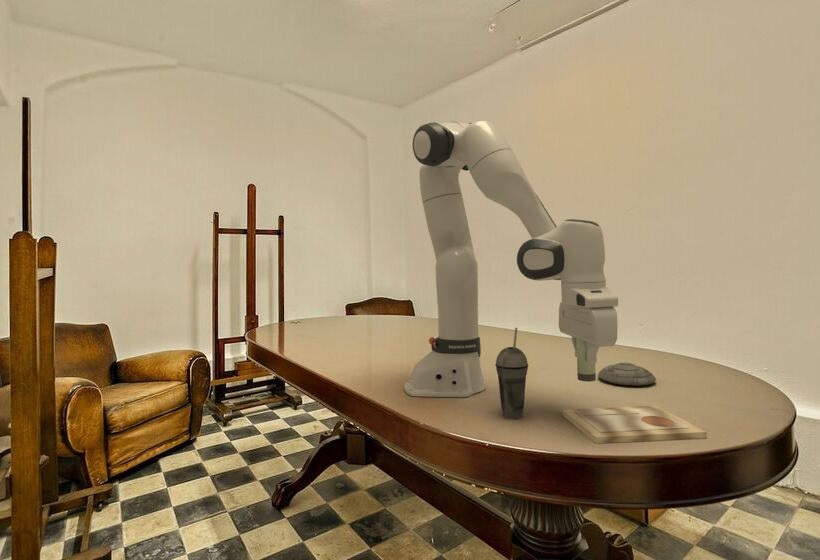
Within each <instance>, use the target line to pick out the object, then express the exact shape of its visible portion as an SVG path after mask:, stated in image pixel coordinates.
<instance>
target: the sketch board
mask: <svg viewBox="0 0 820 560" xmlns="http://www.w3.org/2000/svg"><path fill="white" fill-rule="evenodd" d="M561 416H562V417H564V418H565V419H566V420H567V421H568V422H569V423H571V424H572V425H573V426H574V427H575V428H577V429H578V430H579V431H580V432H581V433H583V435H584V436H586V437H587V438H588V439H589V440H591V441H592V442H593V443H595V444H613V443H616V444H617V443H632V442H633V443H634V442H653V441H656V442H657V441H674V440H692V439H693V440H694V439H695V440H696V439H708V432H707V431H706V430H704V429H702V428H700V427H698V426H696V425H694V424H692V423H690V422H689V421H687V420H684V419H682V418H681V417H679V416H677V415H675V414H674V413H671V412H669V411H668V410H666V409H664V408H662V407H659V406H658V405H637V406H618V407H617V406H616V407H595V408H592V407H591V408H574V409H573V408H572V409H570V408H569V409H561Z"/></svg>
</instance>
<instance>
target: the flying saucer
mask: <svg viewBox="0 0 820 560" xmlns="http://www.w3.org/2000/svg"><path fill="white" fill-rule="evenodd" d="M597 377H598V378H599V379H601V380H603V381H605V382H607V383H611V384H615V385H622V386H646V385H651V384H653V383H655V382H656V381H657V378H656V377H655V375H654V374H653V373H652V372H651V371H649V370H648V369H646V368H645V367H642V366H640V365H639V366H638V365H637V364H634V363H632V362H631V363H630V362H618V363H615V364H610V365H607V366H605V367H603V368H602V369H600V371H598V373H597Z"/></svg>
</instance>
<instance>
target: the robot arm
mask: <svg viewBox="0 0 820 560" xmlns="http://www.w3.org/2000/svg"><path fill="white" fill-rule="evenodd" d="M412 151H413V156H414V158H415V159H416V160H417V161H418V162H419V164H422V165H421V167H420V169H419V190H420V196H421V201H422V206H423V210H424V211H423V213H424V215H425V220H426V225H427V229H428V234H429V236H430V240H431V245H432V248H433V252H434V255H435V260H436V262H435V282H436V283H435V285H436V287H435V288H436V301H437V317H438V318H437V323H438V327H437V328H438V329H437V330H438V336H437V337H436V338H435V337H434V336H431V337H429V338H428V343H429V345H430V346H431V351H430V352H428V354H426V355H425V356H424V357H423V358H421V359H420V360H419V361H417V362H416V363H415V364H414V367H413V370H412V374H411V379H408V380H406V381H405V382H404V386H403V387H404V391H405V393H406V394H407V395H408V396H412V397H429V398H431V397H434V398H435V397H437V398H438V397H439V398H442V397H445V398H469V397H471V396H472V395H474V394H478V393H479V392H480V393H481V392H483V391H484V390H485V389H486V384H485V381H484V378H483V374H482V373H483V371H482V367H481V366H482V365H481V359H480V358H481V354H482V346H481V345H482V344H481V337H480V336H479V300H478V299H479V297H478V296H479V295H478V294H479V283H478V282H479V280H478V277H479V275H478V274H479V273H478V272H479V270H478V262H477V260H476V254H475V252H474V247H473V241H472V236H471V231H470V227H469V222H468V216H467V212H466V209H465V203H464V198H463V194H462V190H461V189H462V188H461V185H460V180H459V176H460V175H459V174H460V172H461V171H462V170H463V171H466V172H468V171H469V173H470V175H471V178H472V179H473V182H474V183H475V185H476V186H477V188H478V189H479V191H480V192H481V193H482V194H483V195H484V196H485V197H486V198H487V199H488V200H490V201H491V202H492V201H493V202H495V203H497V204H498V205H501V206H503V207H505V208H506V209H507V210H509V211H511V212H513V214H514V215H516V216H517V217H518V218H519V220H520V221H521V223H522V224H523V226H524V227H525V229H526V231H527V232H528V234H529V236H530V239H529V240H526V241H525V242H524V243H522V244H521V246H520V247H519V248H518V251H517V254H516V265H517V269H518V270H519V271H520V273H521V274H522V275H523V276H524V277H525V278H527V279H529V280H533V281H537V282H542V281H551V280H552V281H553V280H554V281H560V283H561V284H560V287H561V288H560V289H561V293H560V294H561V302H560V303H559V306H558V307H559V308H558V329H559V331H560V333H561V334H564V335H567V336H570V337H571V344H572V346H573V349H574V356H575V358H577V346H576V338H578V339H580V340H583V341H585V342H586V346H587V347H588V349H587V354H585V361H586V362H588V363H590V364H592V363H595V364H596V363H597V358H598V357H597V356H598V352H599V349H600V348H601V347H603V348H604V347H614V346H616V345H615V344H616V342H617V340H618V313H617V312H618V311H617V310H616V307H618V306H619V297H618V296H617V295H616V293H614V292H612V290H610V289H609V287H608V286H607V283H606V281H607V278H606V276H605V272H604V266H605V261H606V252H605V251H606V250H605V249H606V248H605V241H604V240H605V239H604V234H603V230H602V227H601V226H600V225H599V224H598V223H597V222H595V221H593V220H584V219H577V218H576V219H575V218H570V219H565V220H563V221H562V222H561V223H560V224H559V225H558V226H557V224H556V223H555V221H554V220H553V219H552V217H551V215H550V214H549V212H548V211H547V208H546V207H545V206H544V204H543V202H542V201H541V200H540V198H539V196H538V194H537V193H536V192H535V190H534V188H533V186H532V185H531V183H530V181H529V179H528V177H527V176H526V174H525V172H524V170H523V168H522V166H521V164H520V162H519V159H518V158H517V156H516V154H515V152H514V150H513V149H512V148H511V145H510V144H509V142H508V141H507V139H506V138H505V136H503V134H502V133H501V131H500V129H498V128H497V127H496V125H495V124H494V123H493V122H491V121H489V120H483V119H482V120H476V121H474V122H462V121H446V122H445V121H444V122H428V123H425V124H423V125H421V126H419V127H418V128H417V129H416V131H415V132H414V135H413V139H412Z"/></svg>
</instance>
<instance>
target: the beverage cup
mask: <svg viewBox="0 0 820 560" xmlns="http://www.w3.org/2000/svg"><path fill="white" fill-rule="evenodd" d="M517 334H518V327H515V328H514V336H513V346H508V347H505V348H503V349H502V350H501V351H500V352H499V353H498V355H497V356H496V359H495V368H496V374H497V378H498V379H497V380H498V386H499V387H498V389H499V398H500V399H499V400H500V407H501V413H502V415H501V416H502V417H503V418H505V419H509V420H520V419H522V418H523V416H524V410H525V399H526V398H525V397H526V396H525V394H526V382H527V374H528V367H529V362H528V359H527V356H526V355H525V353H524V352H523V351H522V350H521V349H519V347H516V346H517V345H516V344H517V337H518V335H517Z"/></svg>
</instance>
